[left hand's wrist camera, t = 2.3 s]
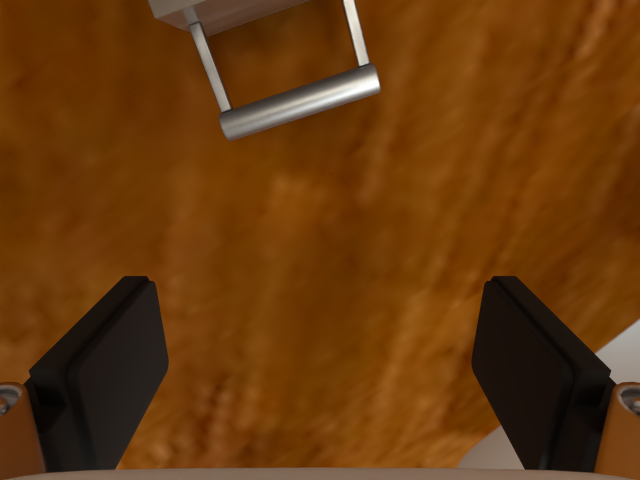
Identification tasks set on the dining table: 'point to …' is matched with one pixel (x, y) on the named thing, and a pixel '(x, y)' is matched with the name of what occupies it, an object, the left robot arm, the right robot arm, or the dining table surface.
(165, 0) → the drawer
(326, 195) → the dining table surface
